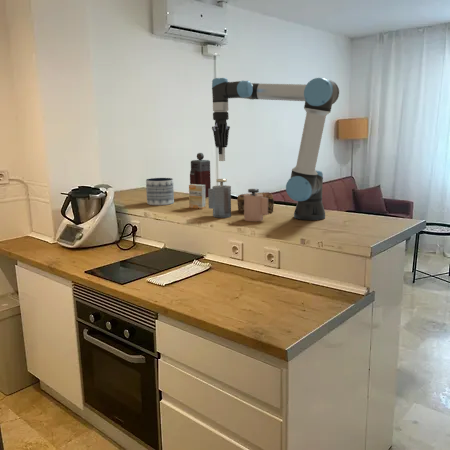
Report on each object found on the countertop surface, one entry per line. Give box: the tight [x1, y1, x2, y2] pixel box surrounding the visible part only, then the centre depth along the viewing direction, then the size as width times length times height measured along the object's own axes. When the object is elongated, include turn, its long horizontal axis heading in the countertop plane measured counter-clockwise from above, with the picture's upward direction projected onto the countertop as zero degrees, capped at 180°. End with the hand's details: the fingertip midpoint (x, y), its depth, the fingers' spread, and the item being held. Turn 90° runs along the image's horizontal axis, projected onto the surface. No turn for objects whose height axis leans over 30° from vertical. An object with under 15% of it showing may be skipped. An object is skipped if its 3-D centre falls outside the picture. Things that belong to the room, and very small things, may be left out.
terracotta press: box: [243, 193, 269, 222], centre depth 224 cm, size 9×12×12 cm
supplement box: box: [188, 184, 207, 210], centre depth 258 cm, size 8×5×13 cm, turn 68°
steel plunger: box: [216, 178, 228, 187], centre depth 233 cm, size 5×5×13 cm
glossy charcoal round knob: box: [247, 188, 260, 196], centre depth 224 cm, size 5×5×12 cm
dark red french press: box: [189, 152, 212, 198], centre depth 296 cm, size 9×11×28 cm
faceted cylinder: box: [207, 184, 232, 219], centre depth 234 cm, size 9×12×15 cm
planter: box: [145, 177, 175, 206], centre depth 276 cm, size 16×16×14 cm
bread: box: [236, 191, 275, 214], centre depth 246 cm, size 19×11×10 cm, turn 91°
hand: (221, 160), depth 229 cm, fingers closed
